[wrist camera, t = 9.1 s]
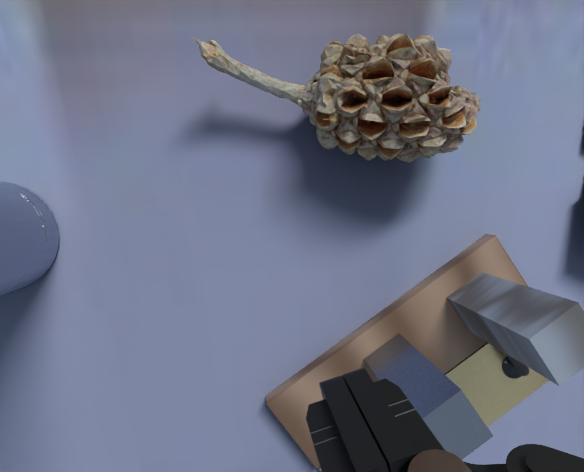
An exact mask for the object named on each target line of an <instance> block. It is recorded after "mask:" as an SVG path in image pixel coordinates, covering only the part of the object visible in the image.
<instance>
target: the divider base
mask: <svg viewBox="0 0 584 472" xmlns="http://www.w3.org/2000/svg"><path fill="white" fill-rule="evenodd" d="M398 333H400V334H401V335H402V336H403V337H404V338H405V339H406V340H407V341H408V342H409V343H411V344H412V345H413V346H414V347H415V348H416V349H417V350H418V351H419V352H420V353H422V354H423V355H424V356H425V357H426V358H427V359H428V360H429V361H430V362H431V363H433V364H434V365H435V366H436V367H437V368H438V369H439V370H440V371H441V372H442V373H444V374H445V373H446V372H448V371H449V370H451V369H452V368H453V367H455V366H456V365H457V364H459V363H460V362H461V361H463V360H464V359H465V358H467V357H468V356H469V355H471V354H472V353H473V352H475V351H476V350H477V349H479V348H480V347H481V346H483V345H484V344H486V343H487V342H488V343H489V344H491V345H493V346H494V347H496V348H498V349H499V350H501V351H503V352H504V353H505V354H506V355H507V357H508V358H509V360H510V361H511V363H512V364H513V366H514V367H515V369H516V370H517V372H518V373H519V374H520V375H521V376H527V375H528V374H529V368H531V369H532V370H534V371H535V372H537V373H539V374H540V375H542V376H544V377H545V378H547V379H549V380H550V381H552V382H554V383H555V384H557V385H559V386H560V385H562V384H563V383H564V382H566V381H567V380H568V379H570V378H571V377H572V376H574V375H575V374H576V373H578V372H579V371H580V370H582V369H583V368H584V311H583V310H582V308H581V306H580V305H579V303H578V302H575V301H571V300H568V299H565V298H562V297H559V296H555V295H552V294H549V293H546V292H543V291H540V290H536V289H533V288H530V287H528V286H527V284H526V282H525V281H524V279H523V278H522V276H521V275H520V273H519V271H518V270H517V268H516V267H515V265H514V263H513V262H512V260H511V259H510V257H509V256H508V254H507V252H506V251H505V249H504V248H503V246H502V245H501V243H500V241H499V240H498V238H497V237H496V236H495V235H488V234H486V235H485V236H483V237H482V238H480V239H479V240H478V241H476V242H475V243H474V244H472V245H471V246H470V247H468V248H467V249H465V250H464V251H463V252H461V253H460V254H459V255H457V256H456V257H455V258H453V259H452V260H450V261H449V262H448V263H446V264H445V265H444V266H442V267H441V268H440V269H438V270H437V271H435V272H434V273H433V274H431V275H430V276H429V277H427V278H426V279H425V280H423V281H422V282H420V283H419V284H418V285H416V286H415V287H414V288H412V289H411V290H410V291H408V292H407V293H406V294H404V295H403V296H401V297H400V298H399V299H397V300H396V301H395V302H393V303H392V304H391V305H389V306H388V307H386V308H385V309H384V310H382V311H381V312H380V313H378V314H377V315H376V316H374V317H373V318H371V319H370V320H369V321H367V322H366V323H365V324H363V325H362V326H361V327H359V328H358V329H356V330H355V331H354V332H352V333H351V334H350V335H348V336H347V337H346V338H344V339H343V340H341V341H340V342H339V343H337V344H336V345H335V346H333V347H332V348H331V349H329V350H328V351H326V352H325V353H324V354H322V355H321V356H320V357H318V358H317V359H316V360H314V361H313V362H311V363H310V364H309V365H307V366H306V367H305V368H303V369H302V370H301V371H299V372H298V373H296V374H295V375H294V376H292V377H291V378H290V379H288V380H287V381H286V382H284V383H283V384H281V385H280V386H279V387H277V388H276V389H275V390H273V391H272V392H271V393H269V394H268V395H266V404H267V406H268V407H269V408H270V410H271V411H272V412H273V413H274V415H275V416H276V417H277V418H278V420H279V421H280V422H281V424H282V425H283V426H284V427H285V429H286V430H287V431H288V433H289V434H290V435H291V436H292V438H293V439H294V440H295V442H296V443H297V444H298V445H299V447H300V448H301V449H302V450H303V452H304V453H305V454H306V456H307V457H308V458H309V459H310V461H311V462H312V463H313V465H314V466H315V467H316V468H319V467H320V466H319V462H318V459H317V456H316V452H315V449H314V445H313V442H312V438H311V435H310V431H309V428H308V424H307V421H306V415H307V411H308V406H309V404H312V403H315V402H318V401H321V400H323V397H322V393H321V389H320V385H319V383H320V382H323V381H326V380H329V379H332V378H335V377H338V376H342V375H343V374H346V373H349V372H352V371H355V370H358V369H361V368H365V370H366V371H367V373H368V374H369V376H370V377H371V379H372V381H373V382H376V381H379V380H378V378H377V377H376V376H375V374H374V373H373V371H372V370H371V368H370V367H369V366H368V364H367V363H366V361H365V360H364V359H365V358H366V357H367V356H369V355H370V354H371V353H373V352H374V351H375V350H377V349H378V348H379V347H381V346H382V345H384V344H385V343H386V342H388V341H389V340H390V339H392V338H393V337H394V336H396V335H397V334H398ZM528 367H529V368H528Z"/></svg>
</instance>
